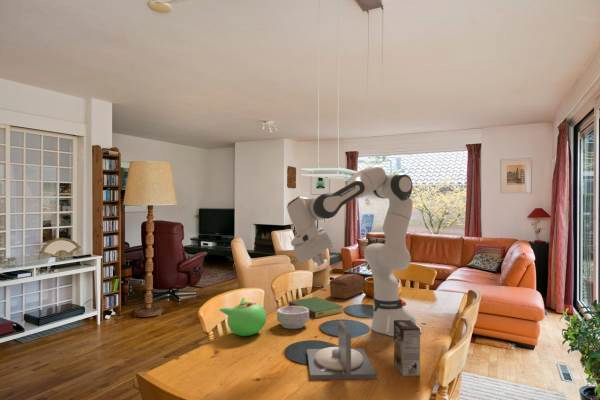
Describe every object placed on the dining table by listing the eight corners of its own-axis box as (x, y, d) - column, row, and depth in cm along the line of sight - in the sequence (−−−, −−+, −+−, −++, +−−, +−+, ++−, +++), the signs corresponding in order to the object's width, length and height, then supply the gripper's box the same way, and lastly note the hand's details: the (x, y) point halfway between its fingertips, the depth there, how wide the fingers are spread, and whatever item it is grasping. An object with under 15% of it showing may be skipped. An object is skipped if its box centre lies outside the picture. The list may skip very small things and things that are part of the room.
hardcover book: (288, 308, 210) (288, 301, 210) (315, 303, 220) (315, 296, 220) (315, 319, 189) (315, 312, 189) (343, 313, 200) (343, 306, 200)
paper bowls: (288, 319, 188) (288, 303, 188) (314, 324, 181) (314, 307, 181) (270, 328, 175) (270, 311, 175) (298, 333, 167) (298, 316, 168)
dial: (312, 351, 143) (312, 312, 143) (356, 349, 145) (356, 310, 145) (322, 382, 119) (322, 334, 119) (374, 379, 120) (374, 332, 120)
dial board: (363, 352, 147) (363, 347, 147) (376, 378, 125) (376, 373, 125) (307, 352, 146) (307, 348, 146) (310, 379, 124) (310, 374, 124)
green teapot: (247, 344, 155) (247, 308, 155) (217, 336, 164) (217, 302, 164) (273, 331, 170) (273, 299, 170) (244, 325, 179) (244, 294, 179)
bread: (326, 297, 231) (326, 277, 232) (348, 289, 254) (348, 271, 254) (346, 301, 223) (346, 280, 223) (367, 292, 246) (367, 273, 246)
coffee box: (393, 364, 135) (393, 319, 136) (410, 364, 136) (410, 319, 136) (402, 376, 126) (402, 328, 126) (420, 375, 127) (420, 327, 127)
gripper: (317, 228, 168) (330, 256, 168) (288, 244, 153) (301, 275, 153) (327, 224, 164) (340, 254, 164) (298, 240, 149) (312, 272, 149)
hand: (321, 264), depth 158 cm, fingers closed
